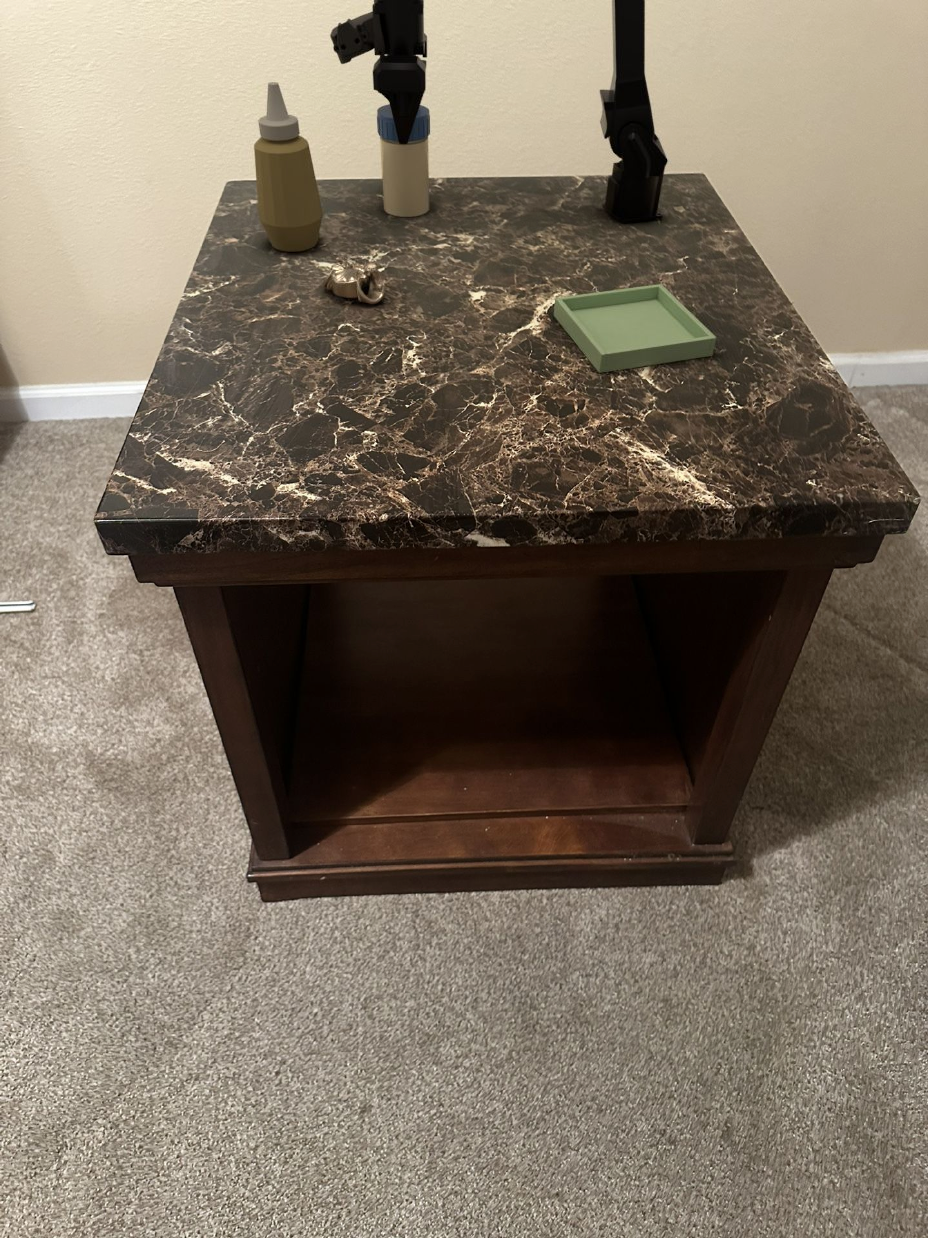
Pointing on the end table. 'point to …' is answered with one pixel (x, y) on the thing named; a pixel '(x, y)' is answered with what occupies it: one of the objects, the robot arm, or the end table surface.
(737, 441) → the end table surface
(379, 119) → the lid
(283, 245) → the squeeze bottle
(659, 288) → the tray
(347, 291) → the ornament
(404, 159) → the jar
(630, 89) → the robot arm
